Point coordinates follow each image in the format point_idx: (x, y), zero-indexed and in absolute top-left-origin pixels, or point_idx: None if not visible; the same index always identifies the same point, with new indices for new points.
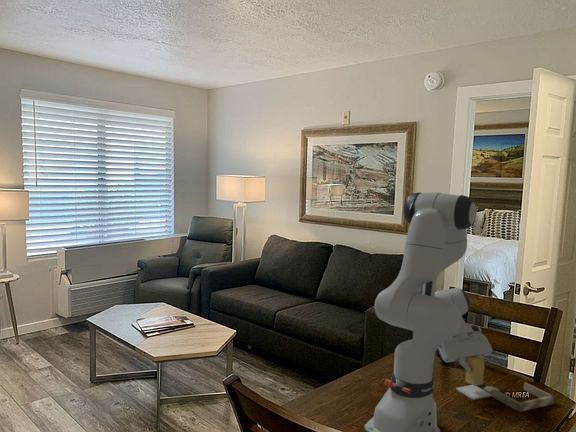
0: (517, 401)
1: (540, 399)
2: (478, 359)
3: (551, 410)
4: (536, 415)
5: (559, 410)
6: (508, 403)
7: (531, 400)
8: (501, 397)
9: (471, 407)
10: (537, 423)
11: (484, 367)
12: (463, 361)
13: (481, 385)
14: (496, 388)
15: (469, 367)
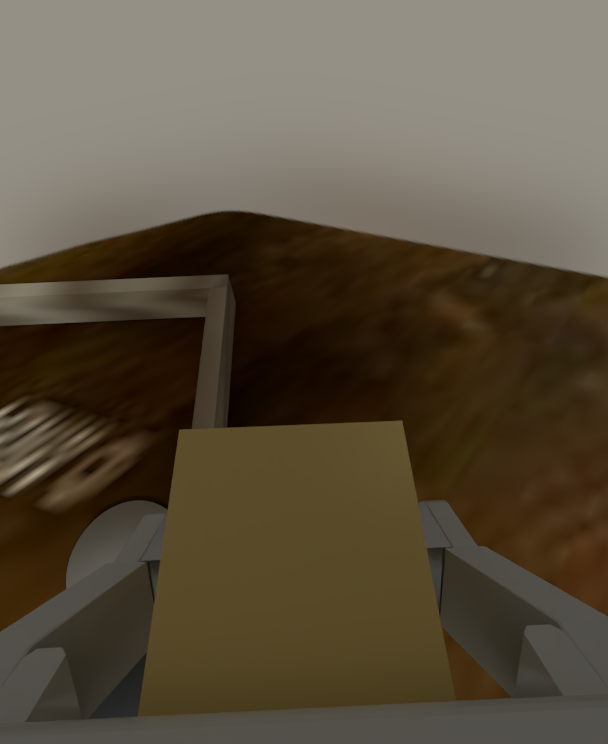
0: (210, 296)
1: (67, 282)
2: (203, 551)
3: (78, 279)
4: (190, 268)
5: (46, 272)
6: (229, 351)
7: (126, 285)
8: (223, 389)
9: (458, 398)
10: (249, 231)
11: (159, 512)
12: (591, 611)
13: (138, 662)
14: (75, 564)
15: (442, 520)
